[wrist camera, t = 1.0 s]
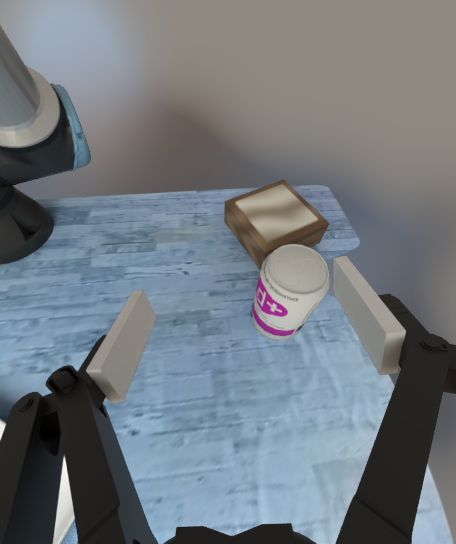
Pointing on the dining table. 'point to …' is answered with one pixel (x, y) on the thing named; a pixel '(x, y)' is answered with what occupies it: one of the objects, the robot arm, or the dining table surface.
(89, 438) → the robot arm
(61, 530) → the salad plate
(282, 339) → the supplement can
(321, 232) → the walnut pedestal
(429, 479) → the dining table surface
